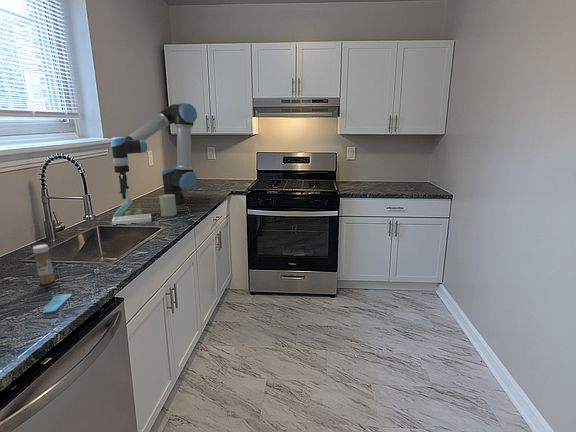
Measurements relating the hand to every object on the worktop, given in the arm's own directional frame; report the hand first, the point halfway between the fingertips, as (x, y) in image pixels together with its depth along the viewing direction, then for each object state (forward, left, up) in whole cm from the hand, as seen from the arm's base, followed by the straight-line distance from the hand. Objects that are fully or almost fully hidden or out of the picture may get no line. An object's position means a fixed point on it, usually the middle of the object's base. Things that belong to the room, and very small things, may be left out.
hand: (125, 202), depth 214 cm
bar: (+1, 0, -5) cm, 5 cm away
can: (-23, +2, -10) cm, 25 cm away
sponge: (+16, +105, -10) cm, 107 cm away
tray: (-3, +10, -10) cm, 14 cm away
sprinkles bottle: (+22, +85, -10) cm, 88 cm away
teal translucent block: (-3, 0, -10) cm, 10 cm away
